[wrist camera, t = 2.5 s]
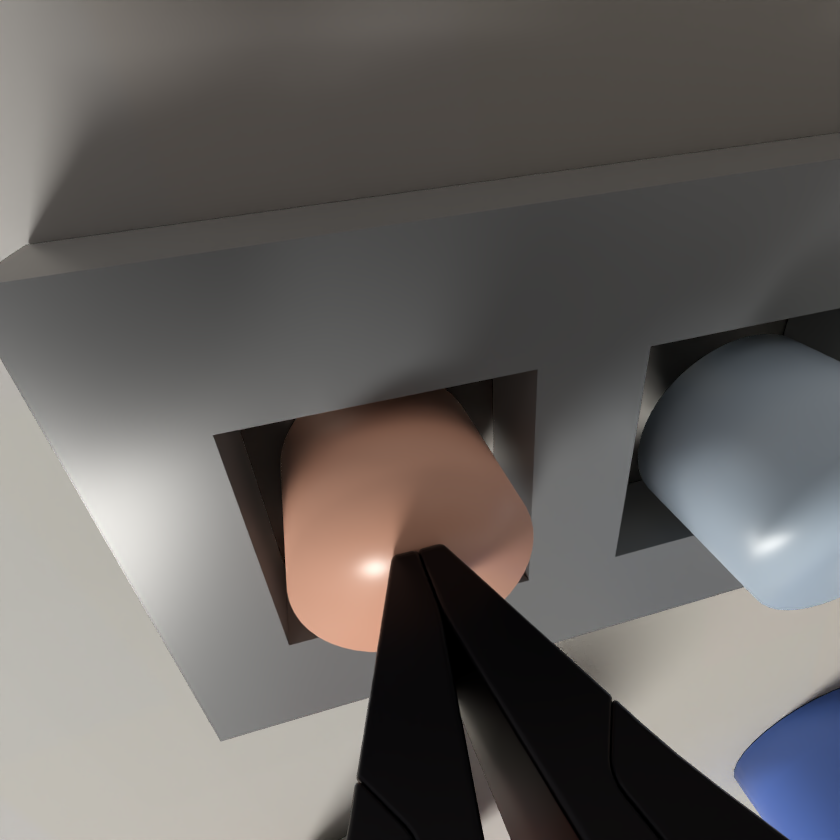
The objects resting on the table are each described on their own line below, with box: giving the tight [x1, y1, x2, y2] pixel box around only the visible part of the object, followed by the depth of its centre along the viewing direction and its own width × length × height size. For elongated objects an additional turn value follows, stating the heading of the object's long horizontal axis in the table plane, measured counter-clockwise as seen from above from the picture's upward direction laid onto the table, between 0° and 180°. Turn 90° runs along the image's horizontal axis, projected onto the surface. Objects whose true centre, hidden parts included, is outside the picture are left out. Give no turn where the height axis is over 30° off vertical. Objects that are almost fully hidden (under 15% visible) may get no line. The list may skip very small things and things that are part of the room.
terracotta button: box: [280, 388, 534, 652], centre depth 10 cm, size 4×4×3 cm
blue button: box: [638, 334, 840, 610], centre depth 10 cm, size 4×4×3 cm
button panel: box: [0, 133, 840, 741], centre depth 11 cm, size 23×10×2 cm, turn 95°
